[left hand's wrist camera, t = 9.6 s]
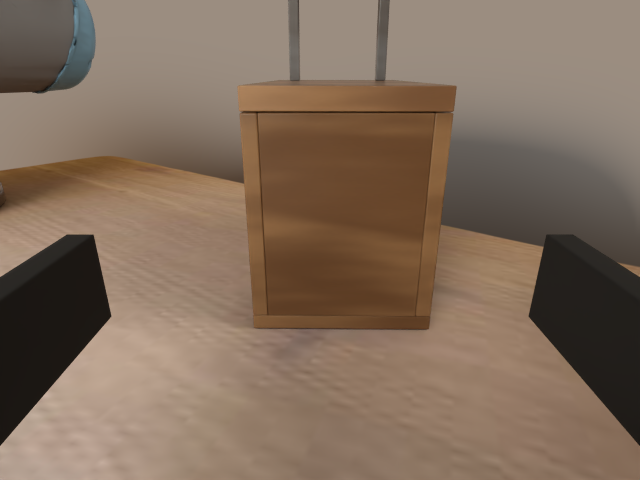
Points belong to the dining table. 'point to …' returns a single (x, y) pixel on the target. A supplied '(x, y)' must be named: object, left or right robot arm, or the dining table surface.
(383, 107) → the lid
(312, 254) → the chest
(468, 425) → the dining table surface
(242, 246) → the dining table surface
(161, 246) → the dining table surface
